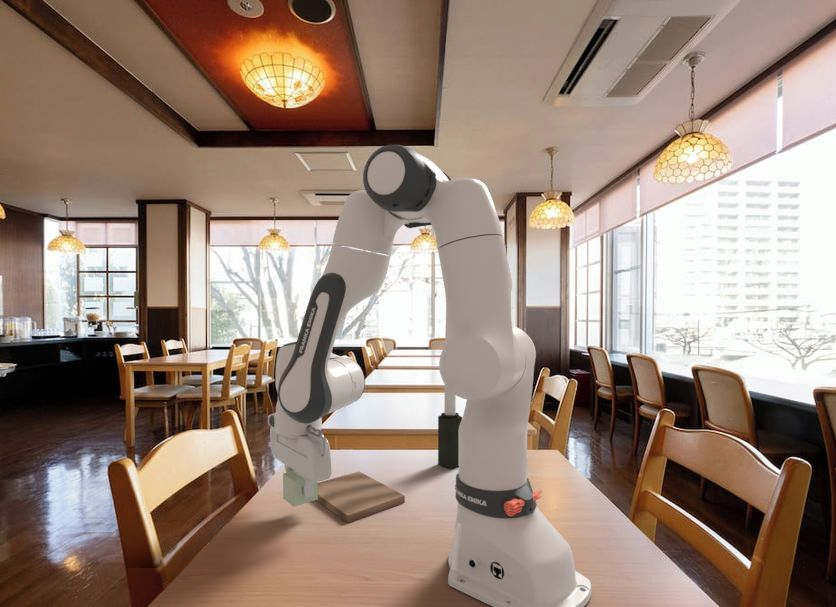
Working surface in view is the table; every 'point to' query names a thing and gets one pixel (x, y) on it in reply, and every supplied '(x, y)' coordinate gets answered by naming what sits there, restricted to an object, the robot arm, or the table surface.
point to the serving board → (356, 496)
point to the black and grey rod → (449, 433)
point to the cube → (296, 489)
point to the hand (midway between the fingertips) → (300, 490)
